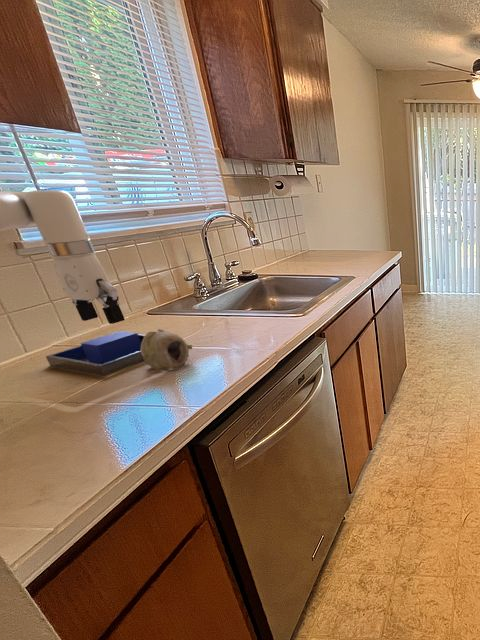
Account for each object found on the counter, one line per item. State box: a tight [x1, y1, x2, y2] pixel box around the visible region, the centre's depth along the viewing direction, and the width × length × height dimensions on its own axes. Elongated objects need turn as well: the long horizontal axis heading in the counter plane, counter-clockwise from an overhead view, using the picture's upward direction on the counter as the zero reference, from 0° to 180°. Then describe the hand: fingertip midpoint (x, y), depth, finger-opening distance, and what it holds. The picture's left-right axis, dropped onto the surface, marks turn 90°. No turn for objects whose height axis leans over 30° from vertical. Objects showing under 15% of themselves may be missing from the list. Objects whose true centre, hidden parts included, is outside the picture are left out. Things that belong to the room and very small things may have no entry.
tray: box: [45, 333, 146, 377], centre depth 101 cm, size 20×18×3 cm
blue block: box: [80, 330, 141, 364], centre depth 101 cm, size 6×9×5 cm, turn 162°
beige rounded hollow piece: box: [141, 328, 194, 371], centre depth 95 cm, size 9×8×10 cm
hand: (103, 320), depth 98 cm, fingers open, 9 cm apart
